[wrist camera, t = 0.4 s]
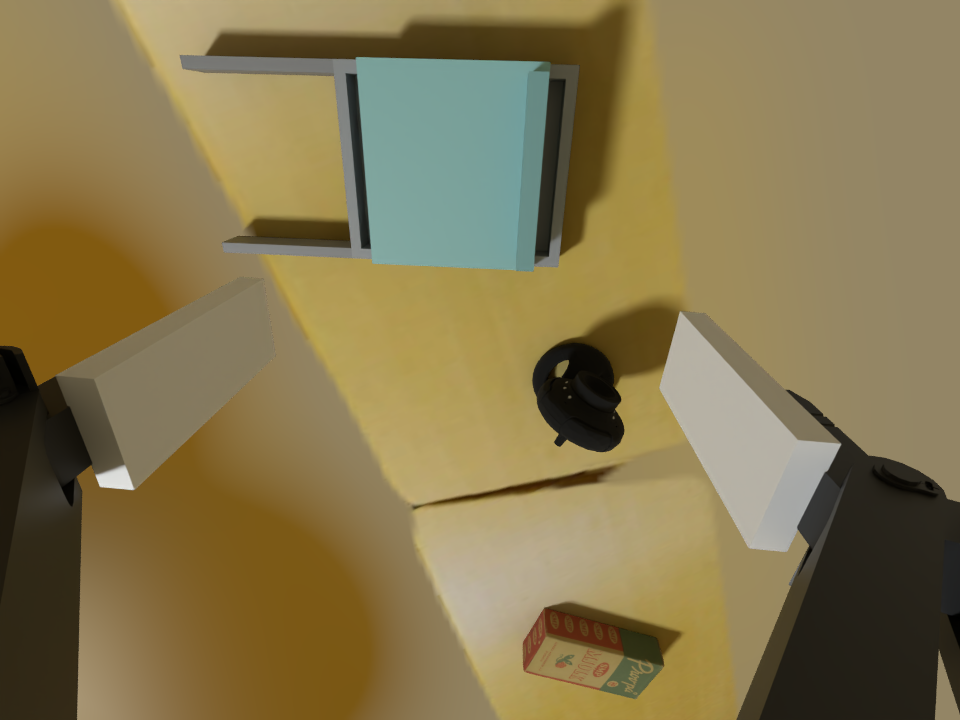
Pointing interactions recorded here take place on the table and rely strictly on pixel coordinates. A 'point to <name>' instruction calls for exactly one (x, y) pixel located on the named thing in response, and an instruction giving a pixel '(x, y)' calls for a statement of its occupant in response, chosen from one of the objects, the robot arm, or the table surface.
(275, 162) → the table surface
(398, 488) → the table surface
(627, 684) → the carton
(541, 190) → the tray
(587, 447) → the webcam
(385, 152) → the lid
